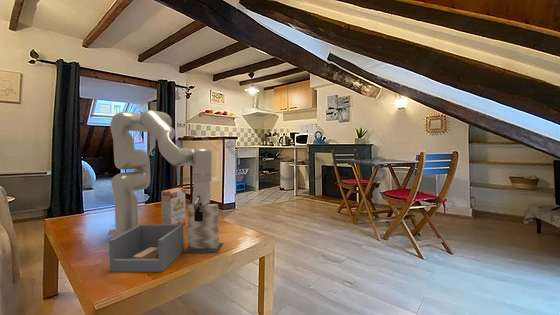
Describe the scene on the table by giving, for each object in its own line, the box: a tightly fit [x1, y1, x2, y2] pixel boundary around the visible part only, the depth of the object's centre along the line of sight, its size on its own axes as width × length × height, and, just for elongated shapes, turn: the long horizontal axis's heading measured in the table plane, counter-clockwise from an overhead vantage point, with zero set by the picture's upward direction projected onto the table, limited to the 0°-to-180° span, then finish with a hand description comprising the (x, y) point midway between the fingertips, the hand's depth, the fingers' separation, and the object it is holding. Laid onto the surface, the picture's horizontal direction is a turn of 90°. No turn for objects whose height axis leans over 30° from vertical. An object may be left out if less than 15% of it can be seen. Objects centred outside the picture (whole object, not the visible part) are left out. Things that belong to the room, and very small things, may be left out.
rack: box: [108, 224, 185, 273], centre depth 100 cm, size 18×19×11 cm
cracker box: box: [160, 187, 186, 226], centre depth 143 cm, size 14×6×21 cm, turn 168°
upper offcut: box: [133, 247, 159, 259], centre depth 97 cm, size 9×4×2 cm, turn 167°
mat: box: [182, 242, 224, 254], centre depth 111 cm, size 14×10×1 cm
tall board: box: [187, 203, 220, 249], centre depth 111 cm, size 12×3×18 cm, turn 89°
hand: (202, 218), depth 111 cm, fingers open, 9 cm apart
